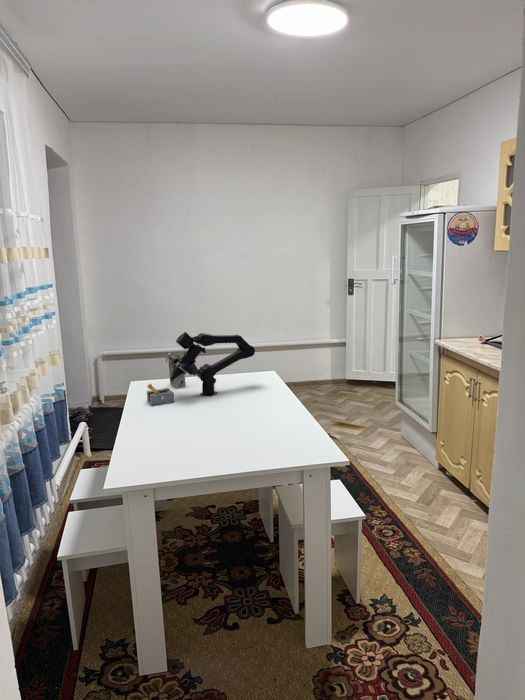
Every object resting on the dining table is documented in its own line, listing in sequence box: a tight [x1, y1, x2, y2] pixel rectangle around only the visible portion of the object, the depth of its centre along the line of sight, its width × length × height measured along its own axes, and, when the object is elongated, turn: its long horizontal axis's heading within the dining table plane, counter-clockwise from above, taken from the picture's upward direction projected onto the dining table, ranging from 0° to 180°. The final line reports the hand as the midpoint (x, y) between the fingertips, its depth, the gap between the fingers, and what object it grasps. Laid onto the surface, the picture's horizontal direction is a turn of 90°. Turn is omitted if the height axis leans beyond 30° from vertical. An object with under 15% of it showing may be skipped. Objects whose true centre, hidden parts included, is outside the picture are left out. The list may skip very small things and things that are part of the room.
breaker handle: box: [146, 383, 159, 394], centre depth 255 cm, size 2×2×8 cm
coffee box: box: [167, 354, 186, 389], centre depth 283 cm, size 9×6×16 cm
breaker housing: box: [146, 387, 175, 407], centre depth 257 cm, size 11×10×5 cm
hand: (171, 379), depth 258 cm, fingers closed
